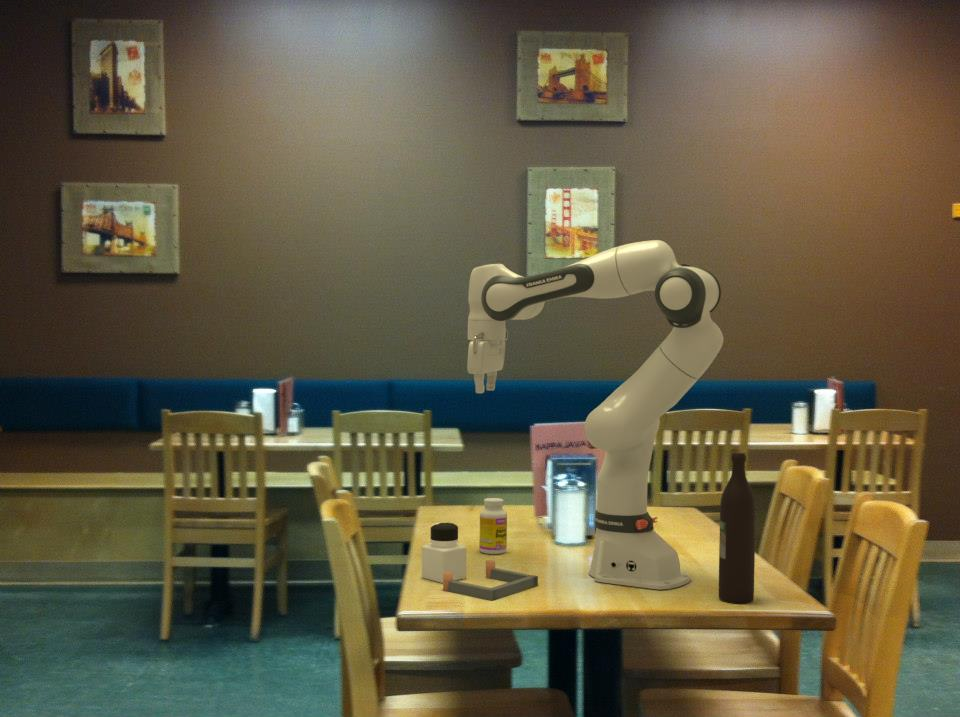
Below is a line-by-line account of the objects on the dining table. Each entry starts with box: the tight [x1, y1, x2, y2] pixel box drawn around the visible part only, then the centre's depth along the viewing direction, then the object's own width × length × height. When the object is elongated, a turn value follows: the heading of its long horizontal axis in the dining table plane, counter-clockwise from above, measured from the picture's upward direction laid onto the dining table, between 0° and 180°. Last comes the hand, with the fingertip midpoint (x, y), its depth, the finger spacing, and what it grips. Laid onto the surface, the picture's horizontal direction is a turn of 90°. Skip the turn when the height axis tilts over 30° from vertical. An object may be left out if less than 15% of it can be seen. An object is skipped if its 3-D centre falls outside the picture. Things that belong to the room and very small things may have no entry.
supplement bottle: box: [478, 497, 508, 555], centre depth 263 cm, size 7×7×13 cm
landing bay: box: [442, 560, 539, 601], centre depth 229 cm, size 13×16×4 cm
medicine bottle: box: [421, 521, 467, 584], centre depth 237 cm, size 7×7×12 cm
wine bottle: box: [718, 452, 757, 604], centre depth 220 cm, size 7×7×30 cm
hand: (485, 391), depth 254 cm, fingers open, 8 cm apart
